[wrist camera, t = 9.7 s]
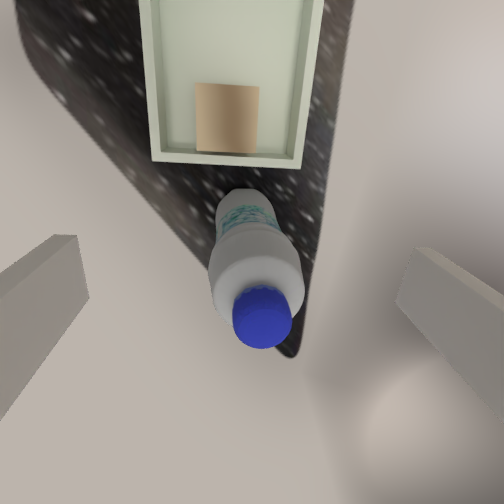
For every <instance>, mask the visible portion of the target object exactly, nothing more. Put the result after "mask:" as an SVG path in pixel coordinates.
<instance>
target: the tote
mask: <svg viewBox="0 0 504 504" xmlns="http://www.w3.org/2000/svg"><path fill="white" fill-rule="evenodd" d="M323 5H324V0H139V10H140V22H141V34H142V46H143V58H144V70H145V81H146V93H147V105H148V117H149V129H150V141H151V153H152V161H161V162H179V163H198V164H216V165H234V166H253V167H271V168H289V169H301V162H302V155H303V148H304V141H305V134H306V126H307V119H308V112H309V105H310V98H311V91H312V84H313V77H314V69H315V62H316V55H317V48H318V41H319V34H320V27H321V20H322V12H323ZM195 82H198V83H212V84H227V85H242V86H256V87H260V89H259V106H258V123H257V140H256V153H236V152H213V151H197V139H196V105H195Z"/></svg>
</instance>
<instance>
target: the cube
mask: <svg viewBox="0 0 504 504" xmlns="http://www.w3.org/2000/svg"><path fill="white" fill-rule="evenodd" d="M259 89H260V87H256V86H242V85H227V84H212V83H198V82H195V105H196V139H197V151H213V152H236V153H256V140H257V123H258V106H259Z"/></svg>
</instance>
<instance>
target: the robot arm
mask: <svg viewBox="0 0 504 504" xmlns="http://www.w3.org/2000/svg"><path fill="white" fill-rule="evenodd" d="M88 299H89V294H88V289H87V284H86V279H85V274H84V269H83V264H82V259H81V254H80V249H79V244H78V239H77V235H57V234H55V235H53V236H51V237H50V238H49V239H47V240H46V241H44V242H43V243H42V244H40V245H39V246H38V247H36V248H35V249H33V250H32V251H31V252H29V253H28V254H27V255H25V256H24V257H22V258H21V259H19V260H18V261H17V262H15V263H14V264H12V265H11V266H10V267H8V268H7V269H5V270H4V271H3V272H1V273H0V421H1V419H2V418H3V416H4V415H5V414H6V412H7V411H8V410H9V408H10V407H11V405H12V404H13V403H14V401H15V400H16V399H17V397H18V395H19V394H20V393H21V392H22V390H23V389H24V388H25V386H26V385H27V383H28V382H29V381H30V379H31V378H32V376H33V375H34V374H35V372H36V371H37V370H38V368H39V367H40V366H41V364H42V363H43V361H44V360H45V359H46V357H47V356H48V355H49V353H50V352H51V350H52V349H53V347H54V346H55V345H56V344H57V342H58V341H59V339H60V338H61V336H62V335H63V334H64V333H65V331H66V330H67V328H68V327H69V326H70V324H71V323H72V322H73V320H74V319H75V317H76V316H77V314H78V313H79V312H80V311H81V309H82V308H83V306H84V305H85V304H86V302H87V301H88ZM395 303H396V304H397V306H398V307H399V308H400V309H401V310H402V311H403V312H404V313H405V314H406V316H407V317H408V318H409V319H410V320H411V321H412V322H413V323H414V325H415V326H416V327H417V328H418V329H419V330H420V331H421V332H422V334H423V335H424V336H425V337H426V338H427V339H428V340H429V341H430V343H431V344H432V345H433V346H434V347H435V348H436V349H437V350H438V352H439V353H440V354H441V355H442V356H443V357H444V358H445V359H446V360H447V362H448V363H449V364H450V365H451V366H452V367H453V368H454V369H455V371H456V372H457V373H458V374H459V375H460V376H461V377H462V378H463V380H464V381H465V382H466V383H467V384H468V385H469V386H470V387H471V388H472V390H473V391H474V392H475V393H476V394H477V395H478V396H479V397H480V399H482V401H483V402H484V403H485V404H486V405H487V406H488V407H489V409H490V410H491V411H492V412H493V413H494V414H495V415H496V416H497V418H498V419H499V420H500V421H501V422H502V423H503V424H504V296H503V295H502V294H500V293H499V292H497V291H496V290H494V289H493V288H491V287H490V286H488V285H487V284H485V283H483V282H482V281H480V280H479V279H478V278H476V277H475V276H473V275H471V274H469V273H468V272H467V271H465V270H464V269H462V268H461V267H459V266H458V265H456V264H455V263H453V262H452V261H450V260H449V259H447V258H446V257H444V256H442V255H441V254H440V253H438V252H436V251H435V250H433V249H432V248H420V247H414V248H413V251H412V254H411V257H410V260H409V263H408V266H407V268H406V271H405V274H404V277H403V280H402V283H401V286H400V289H399V291H398V294H397V298H396V300H395Z"/></svg>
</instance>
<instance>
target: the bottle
mask: <svg viewBox="0 0 504 504" xmlns="http://www.w3.org/2000/svg"><path fill="white" fill-rule="evenodd" d="M215 220H216V231H217V233H216V245H215V247H214V249H213V251H212V254H211V258H210V262H209V268H208V276H209V281H210V286H211V292H212V298H213V304H214V307H215V309H216V311H217V313H218V314H219V316H220V317H221V318H222V319H223V320H224V321H225V322H226V323H228V324H229V325H231V326H232V327H233V328H234V331H235V333H236V335H237V337H238V338H239V340H241V341H242V342H243V343H244V344H246V345H248V346H250V347H253V348H258V349H264V348H270V347H273V346H276V345H277V344H279V343H281V342H282V341H283V340H284V339H285V338H286V336H287V335H288V334H289V332H290V330H291V326H292V318H293V317H294V316H295V314H296V313H297V312H298V311H299V309H300V307H301V305H302V302H303V299H304V293H305V288H304V282H303V277H302V272H301V265H300V259H299V256H298V254H297V252H296V250H295V248H294V247H293V245H292V243H291V242H290V240H289V239H288V238H287V237H286V236H285V235H284V234H283V233H282V232H281V230H280V227H279V225H278V223H277V221H276V216H275V213H274V210H273V207H272V205H271V203H270V202H269V200H268V199H267V198H266V197H265V196H264V195H263V194H262V193H261V192H259V191H258V190H255V189H234V190H232V191H231V192H230V193H228V194H227V195H226V196H225V197H224V198H223V199H222V200H221V201H220V203H219V205H218V207H217V211H216V219H215Z"/></svg>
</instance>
